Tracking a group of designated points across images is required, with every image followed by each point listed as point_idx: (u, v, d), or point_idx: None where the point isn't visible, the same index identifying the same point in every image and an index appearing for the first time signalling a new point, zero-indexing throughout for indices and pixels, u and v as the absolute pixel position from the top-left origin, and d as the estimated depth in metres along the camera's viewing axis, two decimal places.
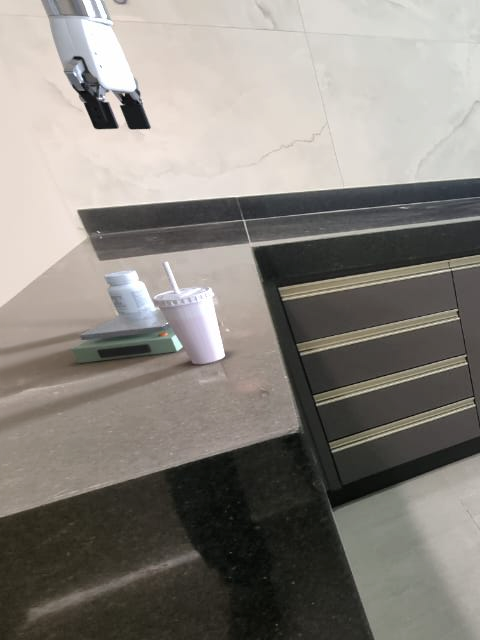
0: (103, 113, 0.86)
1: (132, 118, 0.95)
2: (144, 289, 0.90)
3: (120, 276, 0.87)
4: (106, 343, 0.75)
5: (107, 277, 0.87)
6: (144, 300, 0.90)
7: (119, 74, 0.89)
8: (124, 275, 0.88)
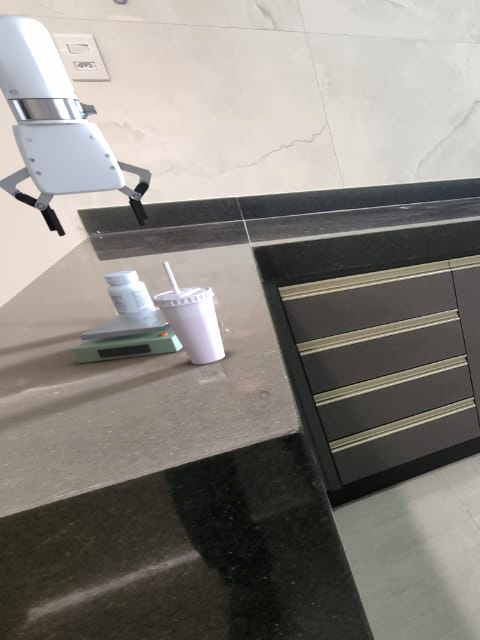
0: (46, 221, 0.81)
1: (134, 214, 0.88)
2: (144, 289, 0.90)
3: (120, 276, 0.87)
4: (106, 343, 0.75)
5: (107, 277, 0.87)
6: (144, 300, 0.90)
7: (79, 176, 0.81)
8: (124, 275, 0.88)
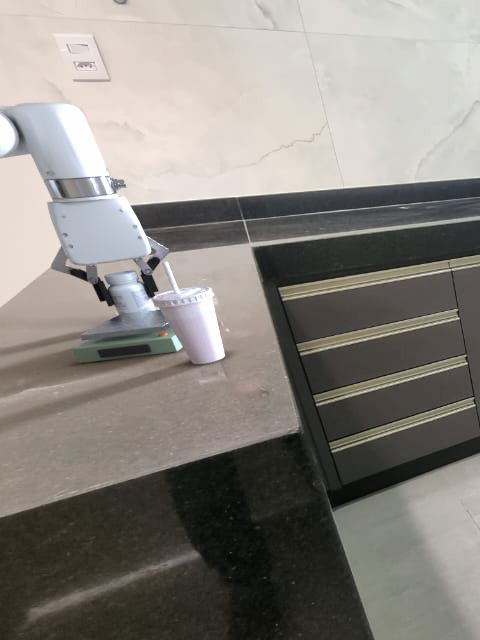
0: (97, 293, 0.87)
1: None
2: (144, 289, 0.90)
3: (120, 276, 0.87)
4: (106, 343, 0.75)
5: (107, 277, 0.87)
6: (145, 300, 0.90)
7: (109, 247, 0.85)
8: (124, 275, 0.88)
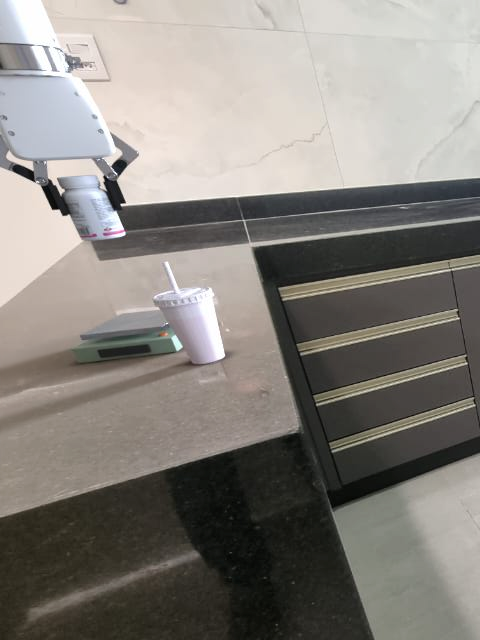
0: (48, 198, 0.70)
1: None
2: (107, 198, 0.74)
3: (77, 178, 0.71)
4: (106, 343, 0.75)
5: (60, 179, 0.71)
6: (108, 211, 0.74)
7: (61, 139, 0.69)
8: (82, 177, 0.71)
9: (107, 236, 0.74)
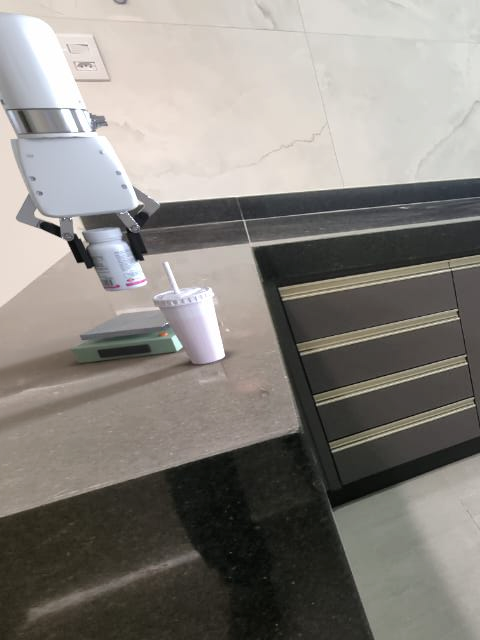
0: (73, 253, 0.73)
1: (132, 247, 0.77)
2: (130, 250, 0.76)
3: (101, 232, 0.73)
4: (106, 343, 0.75)
5: (85, 233, 0.73)
6: (131, 262, 0.76)
7: (87, 196, 0.71)
8: (106, 231, 0.73)
9: (130, 286, 0.76)
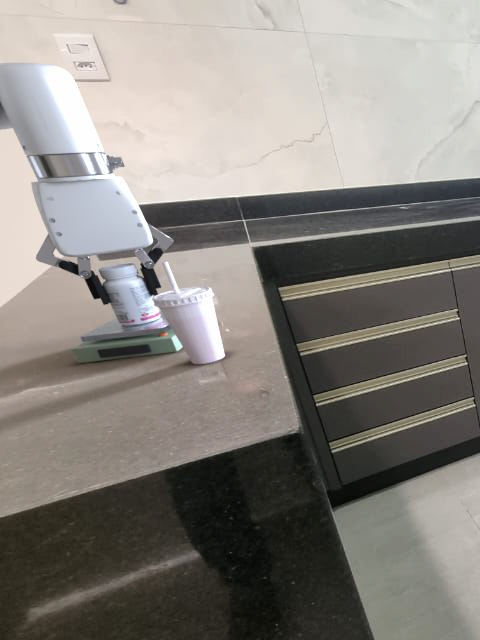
0: (90, 289, 0.75)
1: None
2: (145, 285, 0.78)
3: (117, 270, 0.75)
4: (106, 343, 0.75)
5: (102, 271, 0.75)
6: (145, 297, 0.78)
7: (104, 236, 0.73)
8: (122, 268, 0.76)
9: (144, 321, 0.78)
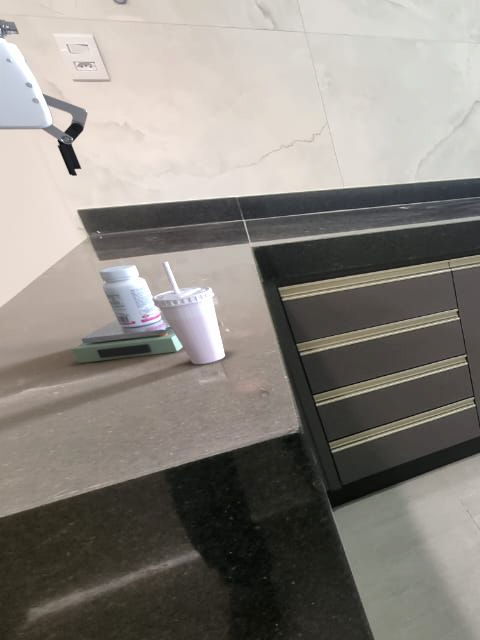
0: None
1: None
2: (145, 287, 0.78)
3: (117, 271, 0.75)
4: (106, 343, 0.75)
5: (102, 273, 0.75)
6: (146, 299, 0.78)
7: None
8: (122, 270, 0.76)
9: (145, 322, 0.79)
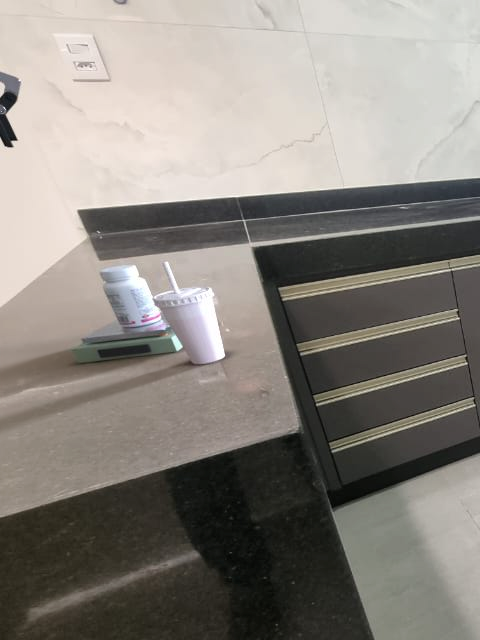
0: None
1: None
2: (145, 287, 0.78)
3: (117, 271, 0.75)
4: (106, 343, 0.75)
5: (102, 273, 0.75)
6: (146, 299, 0.78)
7: None
8: (122, 270, 0.76)
9: (145, 322, 0.79)
